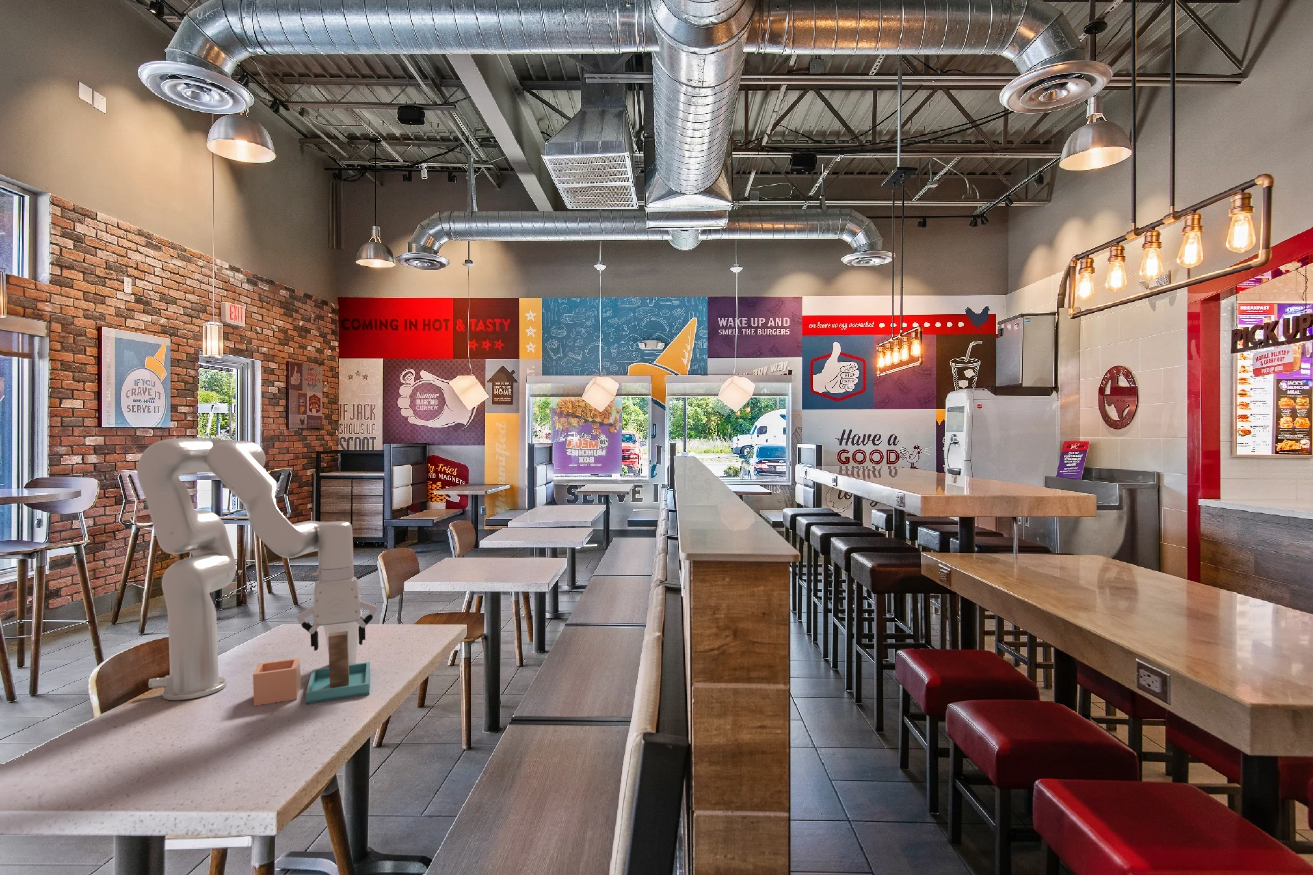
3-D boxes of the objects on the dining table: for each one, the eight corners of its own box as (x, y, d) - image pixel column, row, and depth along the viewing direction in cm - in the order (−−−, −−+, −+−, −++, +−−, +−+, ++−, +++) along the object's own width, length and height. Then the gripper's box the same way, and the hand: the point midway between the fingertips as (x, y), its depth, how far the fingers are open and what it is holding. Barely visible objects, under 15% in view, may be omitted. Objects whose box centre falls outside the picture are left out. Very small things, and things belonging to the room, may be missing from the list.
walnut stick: (329, 688, 162) (328, 637, 161) (331, 683, 165) (329, 632, 165) (348, 685, 163) (347, 635, 163) (349, 680, 167) (347, 630, 167)
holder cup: (253, 705, 154) (252, 674, 154) (260, 692, 162) (259, 663, 162) (296, 699, 157) (295, 668, 157) (300, 686, 165) (299, 657, 165)
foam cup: (353, 668, 177) (351, 618, 177) (317, 669, 177) (315, 619, 177) (369, 656, 186) (367, 608, 186) (335, 657, 187) (333, 609, 187)
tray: (306, 704, 154) (305, 693, 154) (312, 679, 170) (312, 669, 170) (369, 694, 159) (368, 683, 159) (370, 671, 174) (369, 661, 174)
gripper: (293, 581, 157) (296, 656, 157) (375, 573, 164) (378, 645, 164) (297, 575, 164) (299, 646, 164) (375, 567, 171) (378, 637, 171)
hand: (338, 646), depth 164 cm, fingers open, 9 cm apart
